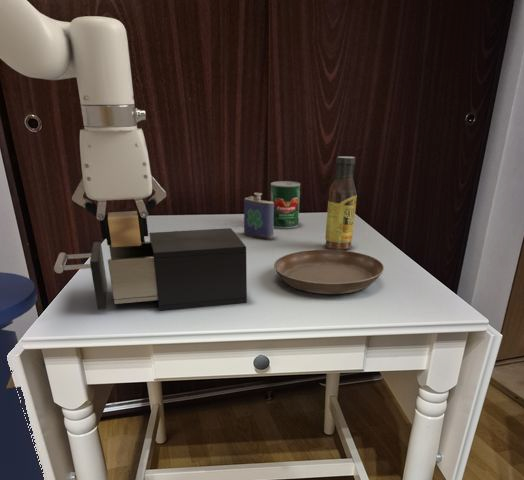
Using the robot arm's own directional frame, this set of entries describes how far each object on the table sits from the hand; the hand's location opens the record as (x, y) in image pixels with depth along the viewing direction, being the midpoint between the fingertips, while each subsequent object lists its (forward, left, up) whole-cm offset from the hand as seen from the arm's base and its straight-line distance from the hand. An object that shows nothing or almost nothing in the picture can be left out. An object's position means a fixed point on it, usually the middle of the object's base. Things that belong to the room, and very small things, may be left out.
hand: (126, 240), depth 79 cm
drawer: (-2, 0, -9) cm, 9 cm away
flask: (+31, +36, -10) cm, 49 cm away
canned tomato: (+41, +46, -10) cm, 63 cm away
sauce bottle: (+47, +22, -10) cm, 53 cm away
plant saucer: (+36, +1, -10) cm, 38 cm away
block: (0, 0, 0) cm, 0 cm away
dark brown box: (+11, 0, -10) cm, 15 cm away
